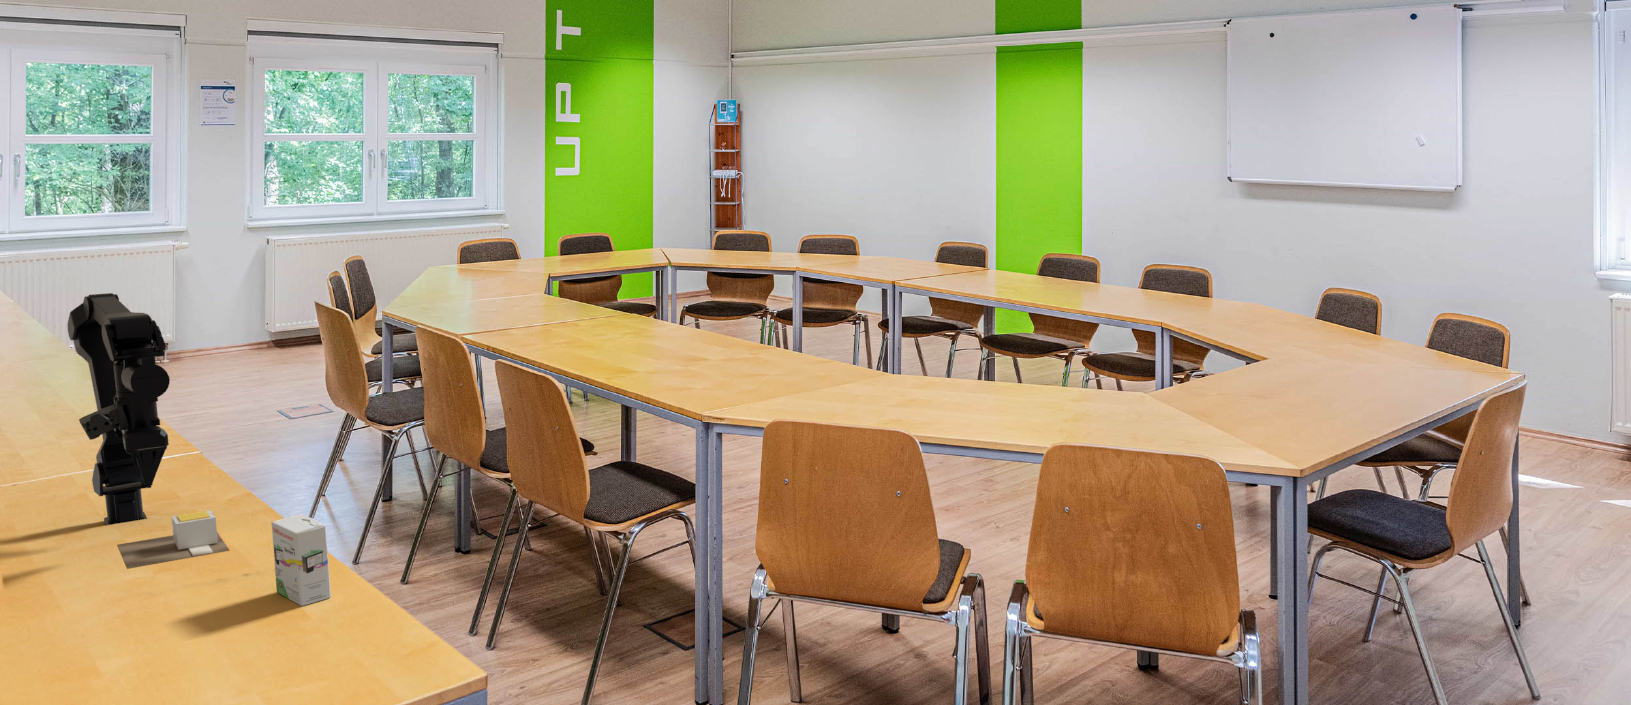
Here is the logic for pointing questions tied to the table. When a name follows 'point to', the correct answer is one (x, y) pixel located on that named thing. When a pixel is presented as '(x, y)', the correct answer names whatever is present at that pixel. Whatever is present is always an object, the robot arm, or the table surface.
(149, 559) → the subfloor board
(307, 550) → the ink box
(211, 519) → the block
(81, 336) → the robot arm
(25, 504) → the table surface
